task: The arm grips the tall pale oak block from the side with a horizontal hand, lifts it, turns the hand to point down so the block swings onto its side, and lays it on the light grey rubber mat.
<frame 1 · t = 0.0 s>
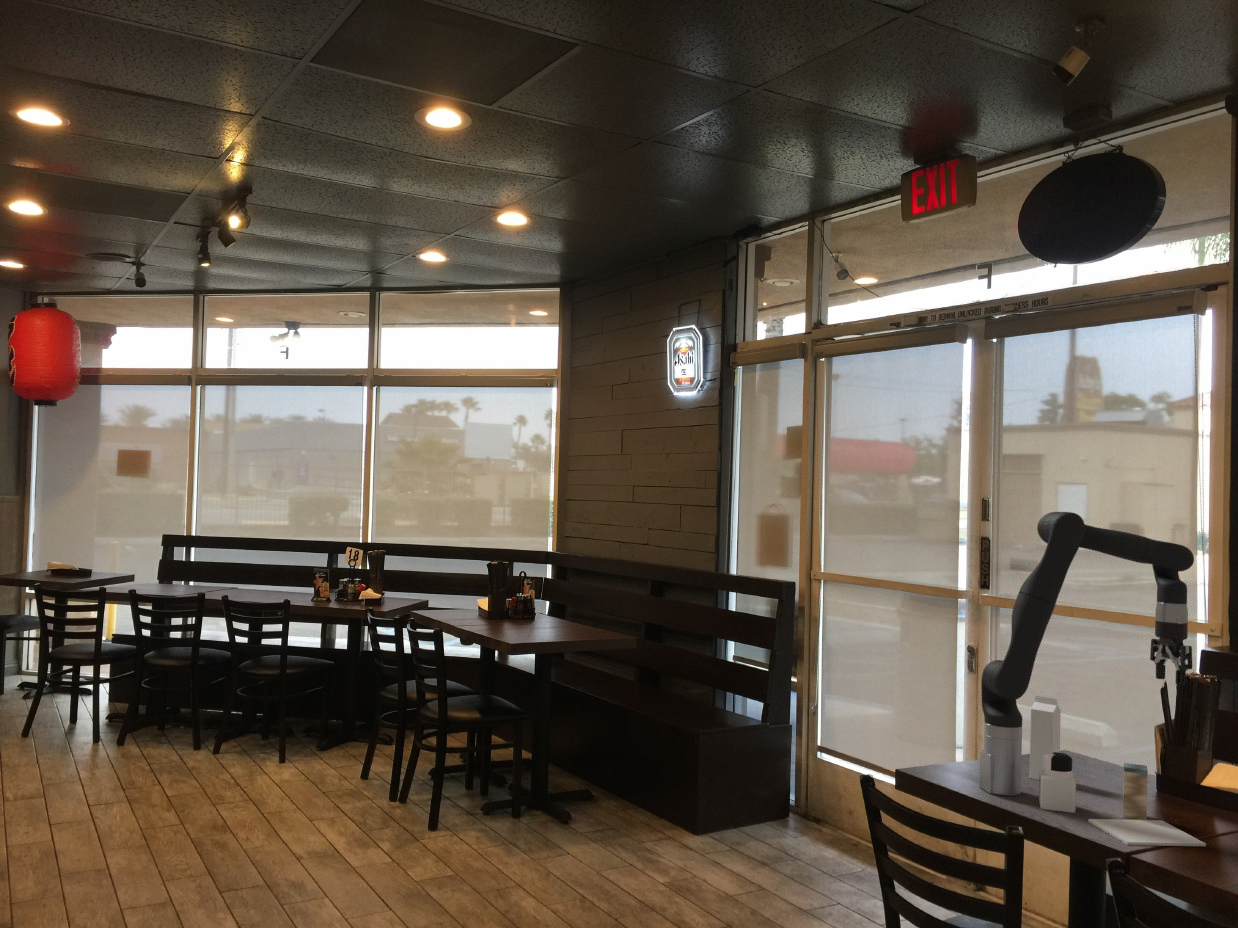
hand: (1170, 681, 263), 29 cm above the table, tool pointing down, fingers open, 8 cm apart
mat: (1145, 833, 228), on the table
block: (1134, 816, 241), on the table
milk: (1044, 779, 273), on the table
container: (1056, 807, 246), on the table
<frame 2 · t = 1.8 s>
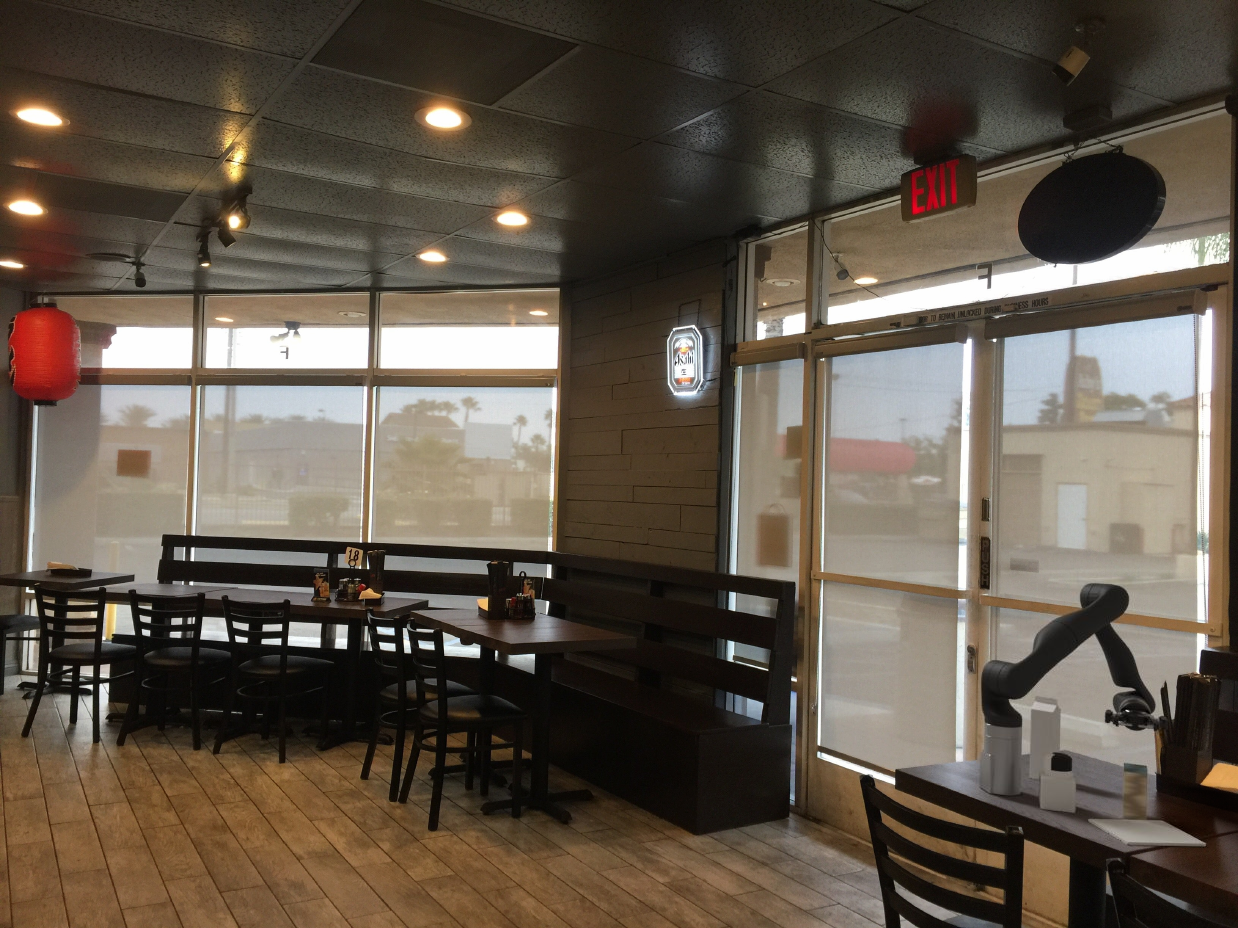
hand: (1136, 724, 251), 20 cm above the table, tool horizontal, fingers open, 8 cm apart
nothing on the table moved.
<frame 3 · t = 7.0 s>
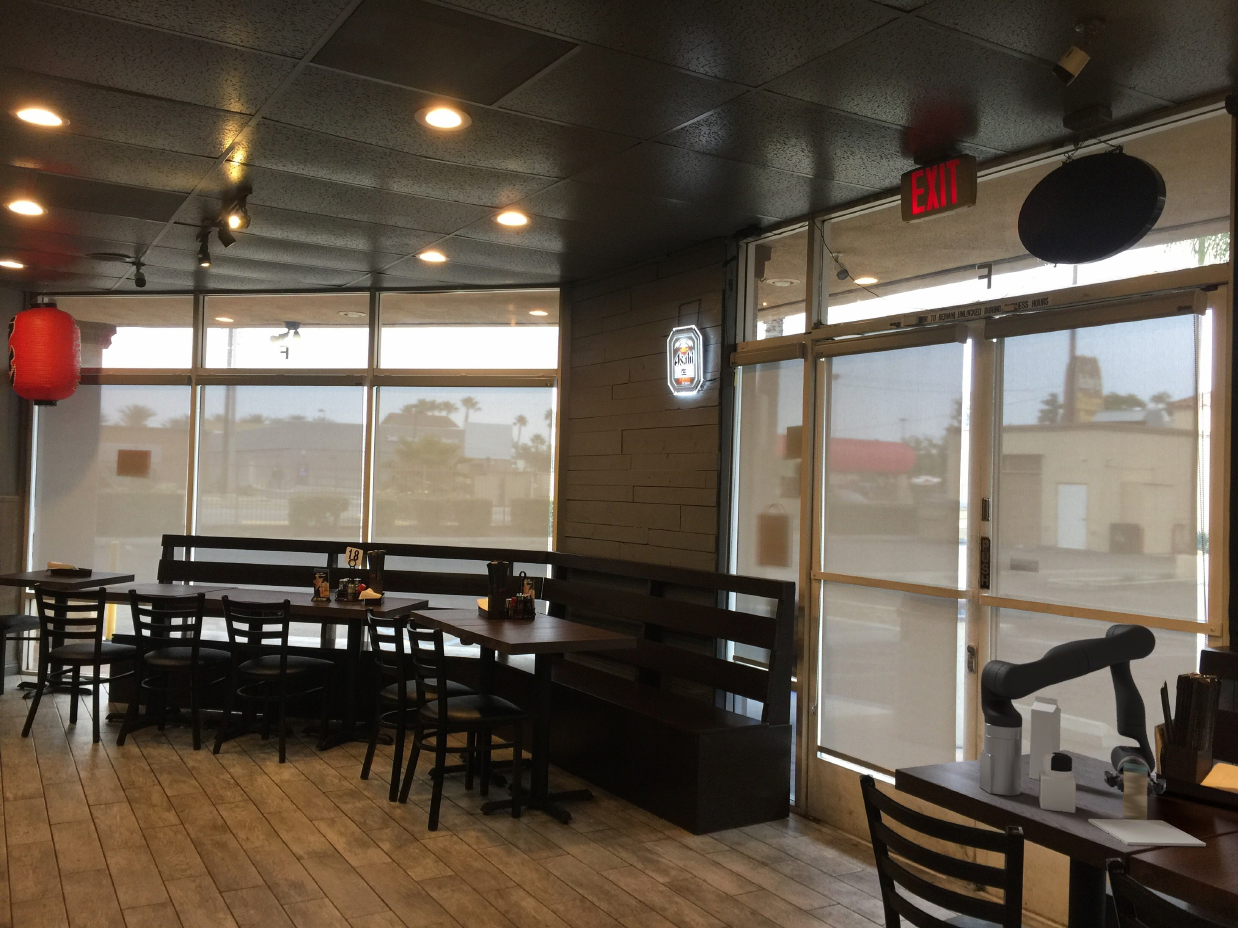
hand: (1135, 789, 239), 7 cm above the table, tool horizontal, fingers closed on block, 5 cm apart
block: (1134, 816, 241), on the table, touching gripper
everything else where it was.
when the fingers open (3 cm above the table, at t = 13.9 s): block drops 2 cm, resting on mat.
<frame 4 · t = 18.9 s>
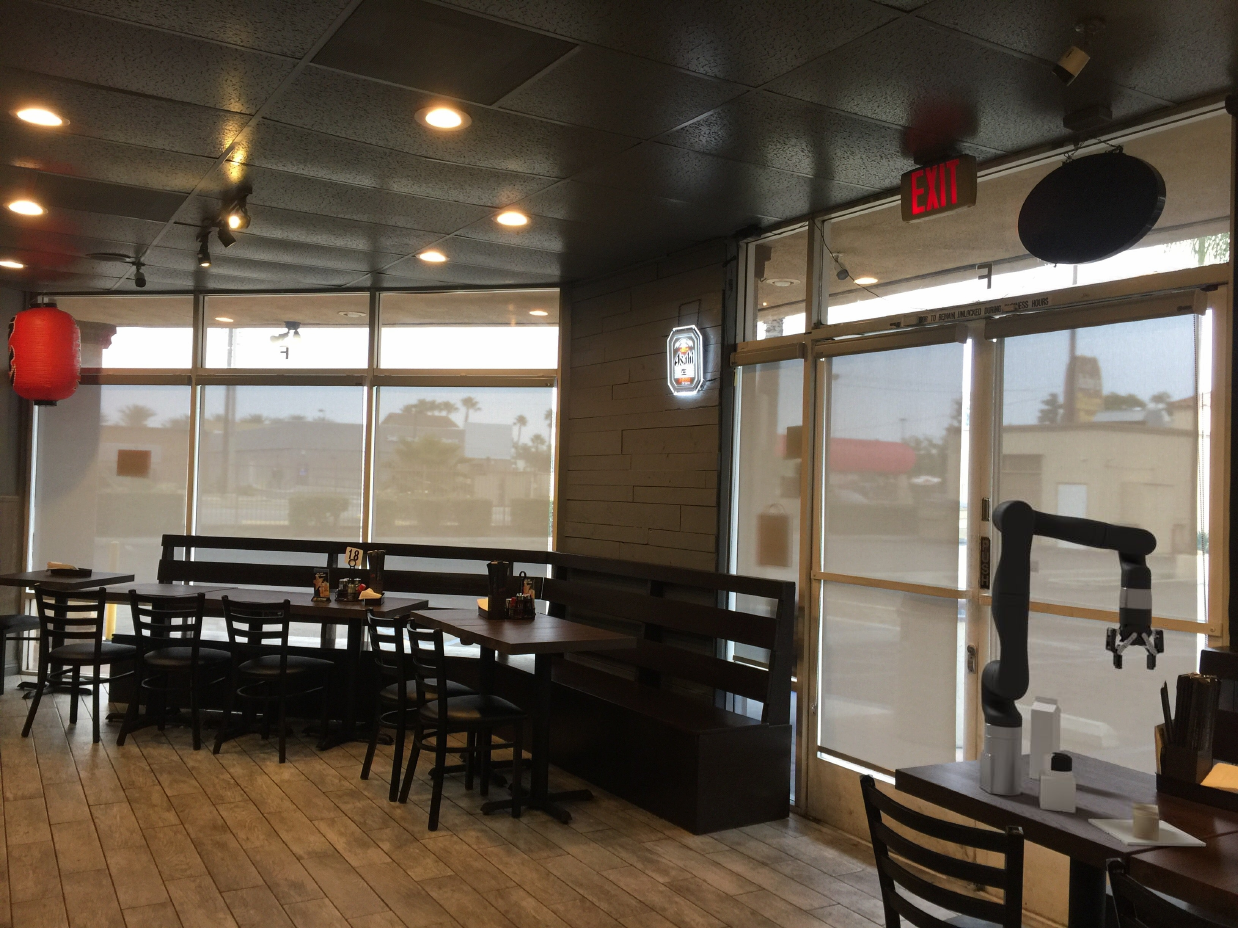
hand: (1134, 669, 257), 33 cm above the table, tool pointing down, fingers open, 8 cm apart
block: (1146, 827, 222), point 3 cm above the table, tilted 90°, touching mat
everything else where it was.
at the end: block tilted 90°; block touching mat; the gripper is holding nothing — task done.
